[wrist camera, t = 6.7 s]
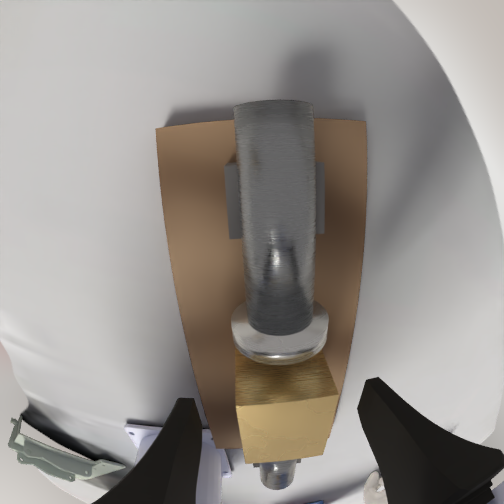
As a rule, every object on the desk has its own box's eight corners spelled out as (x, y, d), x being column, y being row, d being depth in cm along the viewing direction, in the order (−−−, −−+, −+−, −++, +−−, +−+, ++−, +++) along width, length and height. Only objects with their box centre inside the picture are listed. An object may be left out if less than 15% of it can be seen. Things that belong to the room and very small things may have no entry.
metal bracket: (3, 459, 16) (11, 441, 13) (7, 425, 21) (19, 393, 18) (92, 490, 24) (136, 481, 21) (91, 459, 28) (132, 439, 25)
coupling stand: (326, 428, 19) (342, 485, 14) (216, 439, 19) (214, 498, 14) (356, 123, 12) (431, 111, 6) (161, 130, 11) (105, 117, 6)
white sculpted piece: (369, 531, 17) (460, 477, 16) (348, 482, 25) (429, 434, 24) (377, 531, 19) (456, 485, 18) (359, 490, 27) (430, 447, 26)
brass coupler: (235, 319, 14) (235, 406, 8) (307, 313, 14) (339, 394, 9) (242, 384, 15) (245, 463, 10) (303, 379, 15) (322, 454, 10)
